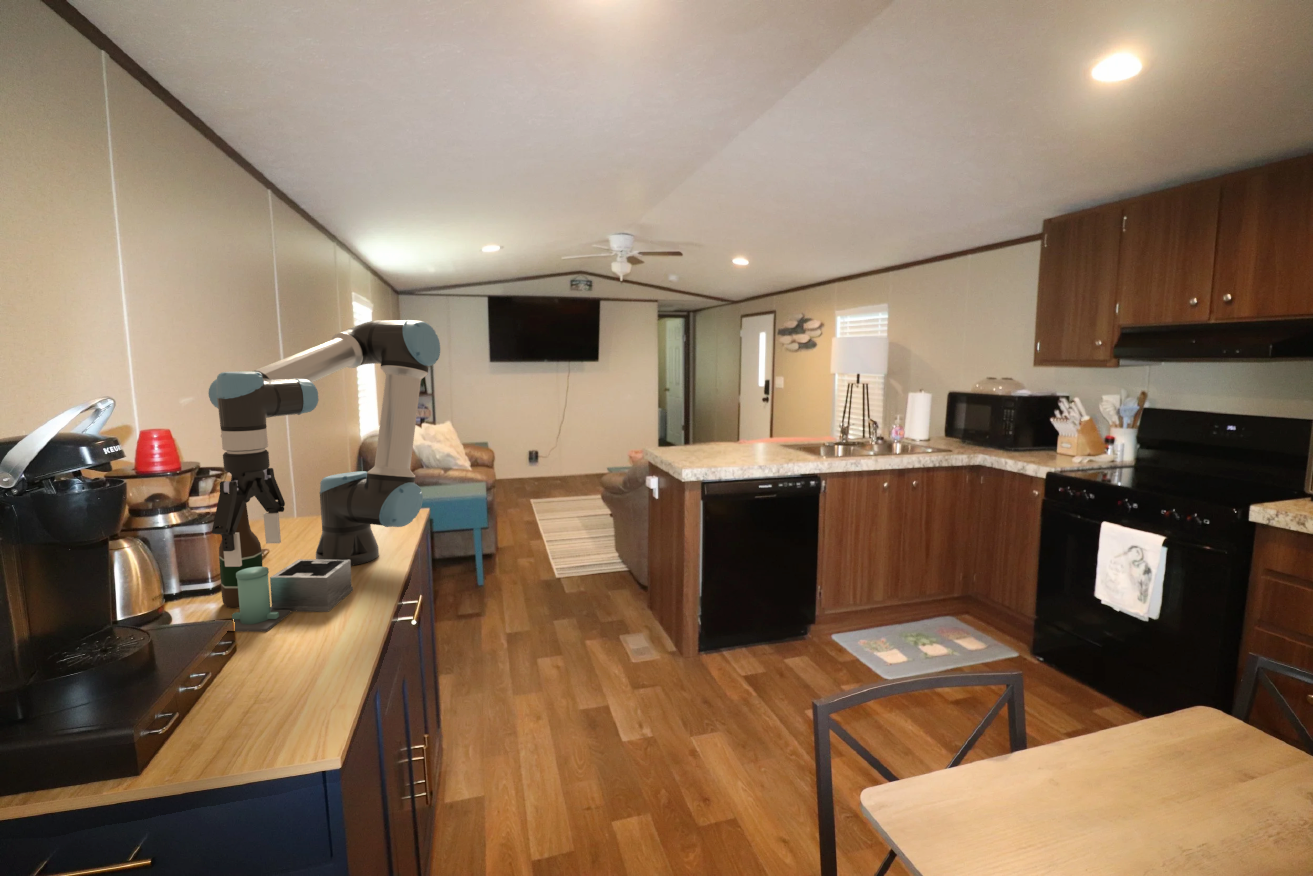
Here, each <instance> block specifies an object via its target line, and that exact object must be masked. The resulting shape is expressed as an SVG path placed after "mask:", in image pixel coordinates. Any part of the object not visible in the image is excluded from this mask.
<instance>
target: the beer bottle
mask: <svg viewBox="0 0 1313 876" xmlns="http://www.w3.org/2000/svg"><path fill="white" fill-rule="evenodd" d="M248 514H249V512H248V507H247V504H246V505H245V507H244V510H243V513H242V516H241V519H240V521H239V524H238V527H237V530H236V532H239V535H240V547H241V558H242V566H240V567H225V561H224V550H223V544H222V540H221V541H220V544H219V547H218V559H219V560H218V561H219V562H218V563H219V573H220V574H219V575H220V588H221V589H220V591H221V600H222V604H223V605H224V606H225V607H226V608H228V609H230V608H231V609H232V608H233V609H240V608H239V595H238V583H237V578H236V573H237V572H238V571H240V570H243V569H246V568H251V567H264V566H263V554H262V553H263V551H262V550H263V549H262V546H261V542H260V540H259V537H258V536H257V535H256V534H255V533H254V532H253V531H252V529H251V526H250V521H249V515H248ZM230 528H231V526H230Z"/></svg>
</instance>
